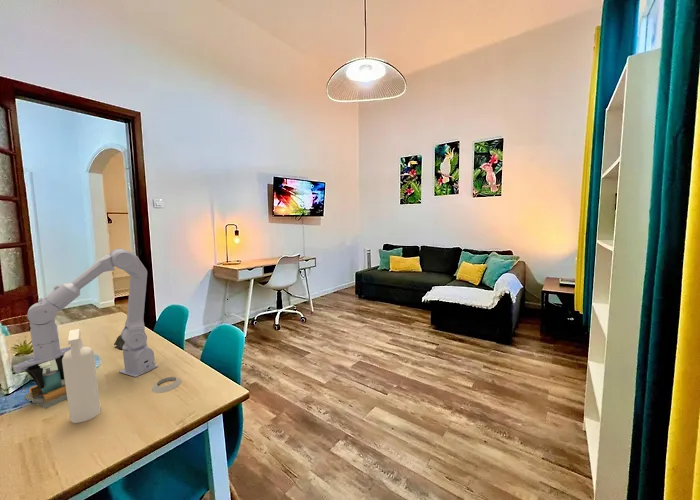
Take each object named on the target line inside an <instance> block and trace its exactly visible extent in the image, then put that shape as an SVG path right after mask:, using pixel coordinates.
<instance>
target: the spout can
mask: <svg viewBox="0 0 700 500" xmlns="http://www.w3.org/2000/svg"><path fill="white" fill-rule="evenodd" d="M43 382H44V388H42V389H41V390H42V393H47V392H50V391H52V390H55V389H57V388H59V387H62V382H61V376H60V371H59V370H58V369H55V370H54V369H53V370H51V367H50V368H49V367H48V368H46V369H45V372H43Z"/></svg>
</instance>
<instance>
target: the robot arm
mask: <svg viewBox="0 0 700 500" xmlns="http://www.w3.org/2000/svg"><path fill="white" fill-rule="evenodd" d="M115 267H116V268H117V269H120V270H123V271H124V272H125V273H126V274H128V275H129V276H130V277H129V278H130V279H129V290H128V300H127V301H128V302H127V312H126V313H127V314H126V320H125V322H124V327H123V328H122V330H121V332H120V335H121V338H122V339H123V340H124V342H125V343H124V345H123V347H122V349H123V350H122V354H123V355H122V356H123V365H124V367H123V369H120V370H119V371H118V372H119V373H121V374H125V375H128V376H130V377H133V378H137V377H140V376H141V375H143V374H146V373H147V372H149V371H152V370H154V369H156V368H158V367H159V366H158V365H157V364H156V362H155V353H154V350H153V349H152V348H150V347H149V346H148V342H147V341H148V340H147V339H148V336H147V334H146V331H145V322H144V316H145V315H144V314H145V306H146V305H145V303H146V293H147V283H148V281H147V280H148V279H147V278H148V270H147V268H146V267H145V266H144V264H143V263H142V261H141V260H140V258H139V256H138V255H136V254H134V253H133V252H131V251H130V250H127V249H124V248H115V249H113V250H111V251H110V253H109V254H108V253H107V254H106V255H104V256H103V257H102V256H101V257H100V259H98V260H97V261H95V262H94V263H93V264H92V265H91V266H90V267H88V268H86V270H85V271H84V272H82V273H81V274H80V275H78V276H77V277H76V278H75V279H74V280H73V281H71V282H64V283H61V284H60V285H59V284H57V285H54V287H53V290H52V291H51V292H49V293H48V294H47V295H45V296H44V297H40V298H39V299H38V300H37V301H38V302H36V303H34V304H32V305H31V306H30V307H29V308H28V310H27V316H26V317H27V320H28V321H29V327H30V330H29V332H30V339H31V346H32V351H33V357H31V358H29V359H26V360H25V361H22V362H20V363H16V364H14V365H12V369H13V372H14V373H17V374H19V373H22V371H25V372H26V373H27V374H28V375H29V376H30V377H31V378H32V379H33V381H34V383H35V384H36V385H37V387H38V388H40V389H42V388H44V382H43V374H44V368H42V367H41V365H42V364H46V363H48V362H50V361H54V360H55V361H54V362H55V364H56V367H57V370H59V371H60V376H61V380H64V379H65V378H64V371H63V364H62V359H63V356H64V354H65V352H67V351H69V350H71V345H70V346H67V347H63V348H61V346H60V339H59V338H60V337H59V332H58V325H57V323H56V320H55V318H56V316H57V313H58V312H61V311H62V310H63V309H65V308H66V307H67V306H69V305H70V304H71V303H72V302H73V301H75V300H76V299H77V298H78V297H80V296H81V289H83V288H84V287H86V286H87V285H88V284H90V283H91V282H93V281H94V280H95V279H96V278H98V277H99V276H100V275H102V274H103V273H106V272H111V271H115V270H116V269H115Z"/></svg>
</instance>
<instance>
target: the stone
mask: <svg viewBox="0 0 700 500" xmlns="http://www.w3.org/2000/svg"><path fill="white" fill-rule="evenodd" d="M124 343H125V342H124V340H123V339H122V338H121V334H119V336H117V337H116V340H115V342H114V343H113V345H114V346H117V348H118V349H119V350H122V351H123V349H122V347H123V345H124Z"/></svg>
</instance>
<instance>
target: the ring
mask: <svg viewBox="0 0 700 500" xmlns="http://www.w3.org/2000/svg"><path fill="white" fill-rule="evenodd" d="M170 381H174V382H172V383H170V384H167V385H162V386H160V385H161V384H163V383H165V382H170ZM182 382H183V381H182V379H180V378H179V377H176V376H167V377H163V378H161V379H160V380H157V382H156V383H155V384H154V385H153V386H152V388H151V392H152V393H155V394H162V393H163V394H164V393H167V392H170V391H172V390H174V389H176V388H178V387H179V386H180V385H182Z"/></svg>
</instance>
